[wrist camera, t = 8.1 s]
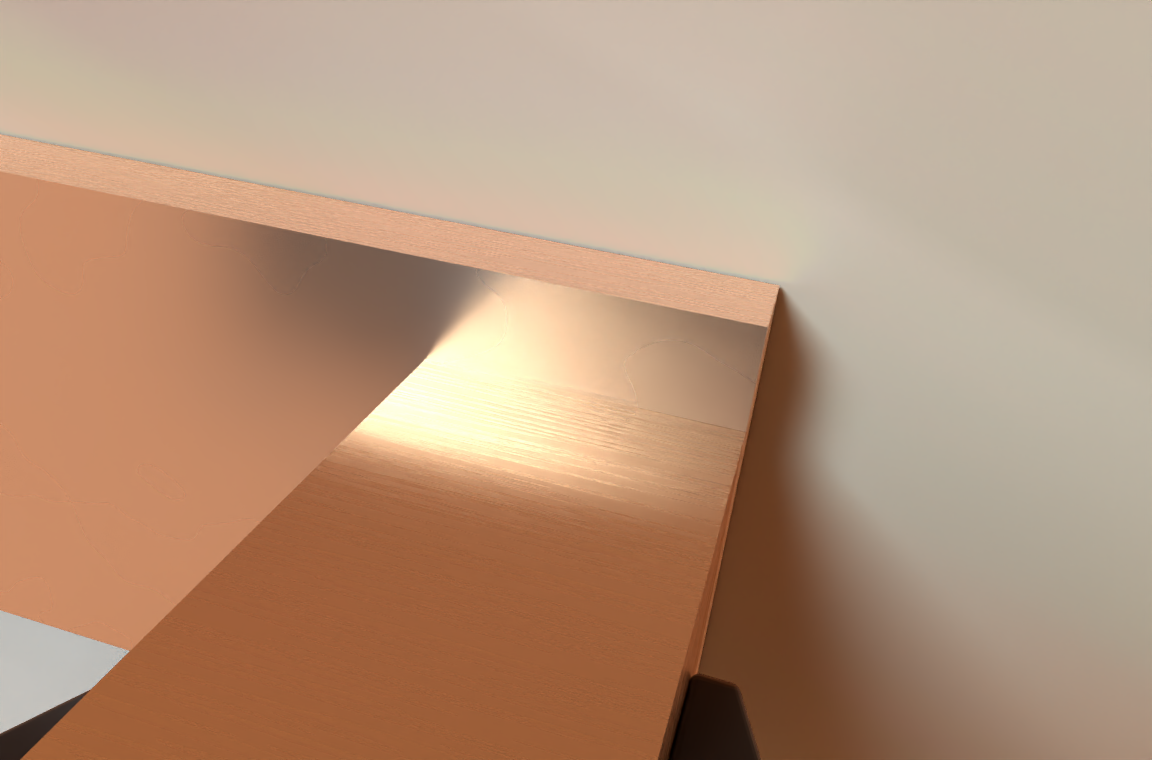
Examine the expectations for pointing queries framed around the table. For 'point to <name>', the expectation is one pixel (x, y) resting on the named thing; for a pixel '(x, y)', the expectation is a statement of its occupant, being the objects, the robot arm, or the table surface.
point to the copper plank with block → (357, 470)
